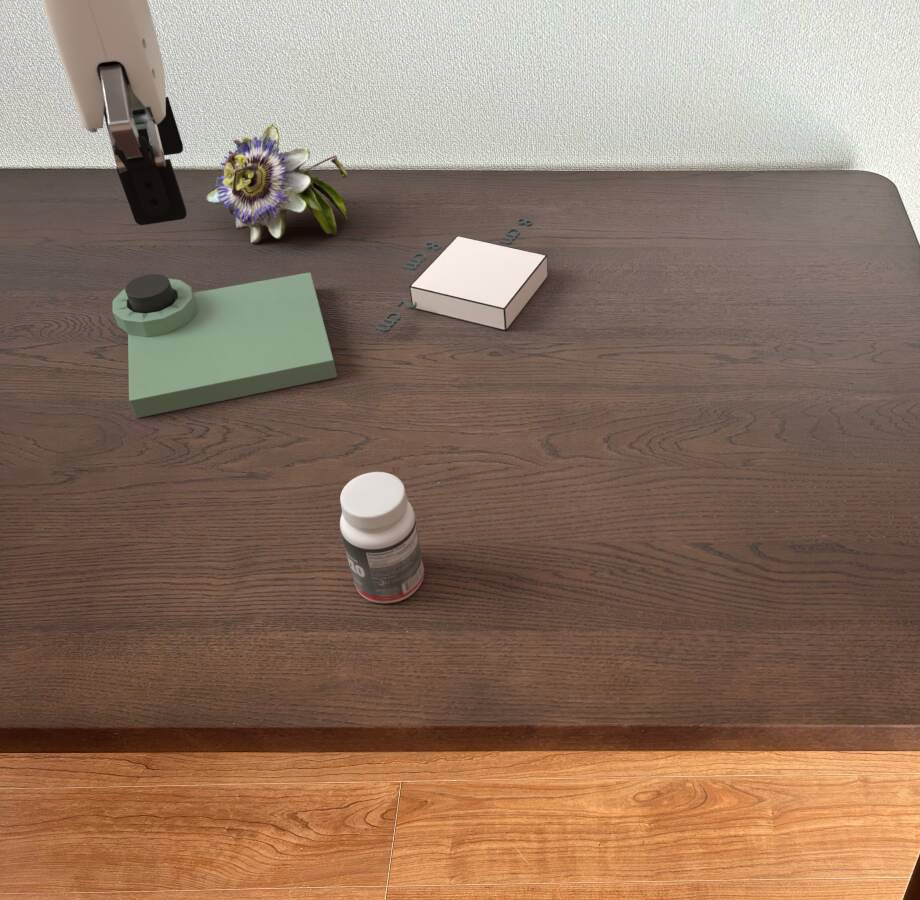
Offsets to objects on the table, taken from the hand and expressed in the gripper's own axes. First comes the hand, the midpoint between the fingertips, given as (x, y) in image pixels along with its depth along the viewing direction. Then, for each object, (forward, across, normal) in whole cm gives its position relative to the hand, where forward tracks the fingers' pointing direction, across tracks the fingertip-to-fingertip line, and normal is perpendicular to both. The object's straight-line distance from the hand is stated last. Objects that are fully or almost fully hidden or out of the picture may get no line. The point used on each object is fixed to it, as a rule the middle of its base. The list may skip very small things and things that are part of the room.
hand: (161, 185), depth 67 cm
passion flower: (+19, -26, +7) cm, 33 cm away
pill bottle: (+19, +24, +9) cm, 32 cm away
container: (+19, -8, +22) cm, 31 cm away
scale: (+19, -6, 0) cm, 20 cm away
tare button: (+16, -10, -5) cm, 19 cm away
